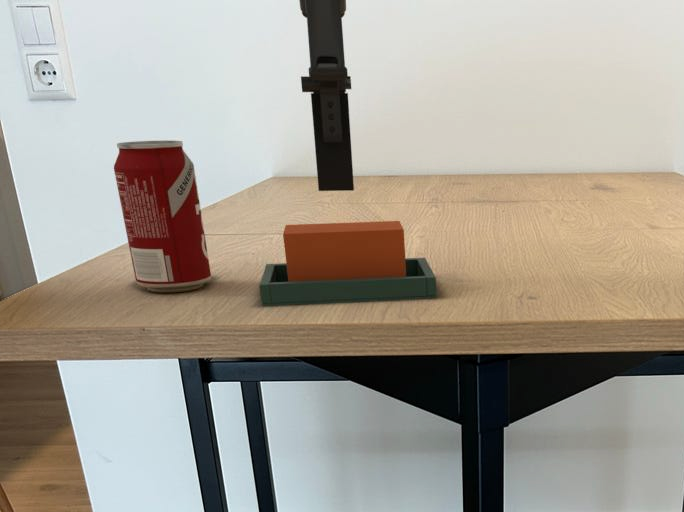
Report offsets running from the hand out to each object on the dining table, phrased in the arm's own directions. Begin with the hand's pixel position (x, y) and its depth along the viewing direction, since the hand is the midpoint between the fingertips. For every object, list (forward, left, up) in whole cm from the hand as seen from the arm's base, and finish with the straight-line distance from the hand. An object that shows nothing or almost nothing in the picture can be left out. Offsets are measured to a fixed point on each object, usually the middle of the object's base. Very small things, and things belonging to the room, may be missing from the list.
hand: (335, 182), depth 78 cm
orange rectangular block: (0, 0, -8) cm, 8 cm away
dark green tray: (0, 0, -9) cm, 9 cm away
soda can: (-16, +7, -9) cm, 20 cm away
